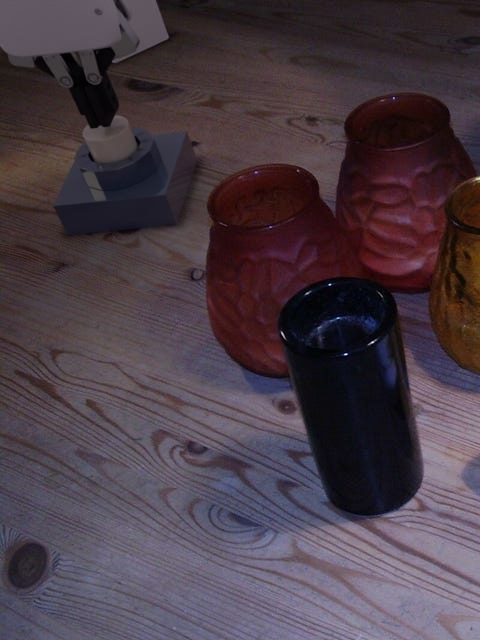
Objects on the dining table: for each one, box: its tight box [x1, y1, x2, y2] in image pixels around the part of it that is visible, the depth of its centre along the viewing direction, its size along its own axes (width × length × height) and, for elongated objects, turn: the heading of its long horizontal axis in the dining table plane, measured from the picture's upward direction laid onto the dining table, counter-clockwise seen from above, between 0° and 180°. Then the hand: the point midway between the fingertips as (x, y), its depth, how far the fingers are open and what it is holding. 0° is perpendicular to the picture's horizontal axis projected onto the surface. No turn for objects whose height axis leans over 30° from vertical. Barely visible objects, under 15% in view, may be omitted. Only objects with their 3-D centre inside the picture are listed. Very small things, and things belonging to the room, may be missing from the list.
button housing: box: [52, 126, 198, 236], centre depth 91 cm, size 10×10×6 cm
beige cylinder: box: [82, 114, 138, 164], centre depth 88 cm, size 4×4×3 cm
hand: (104, 118), depth 87 cm, fingers closed
